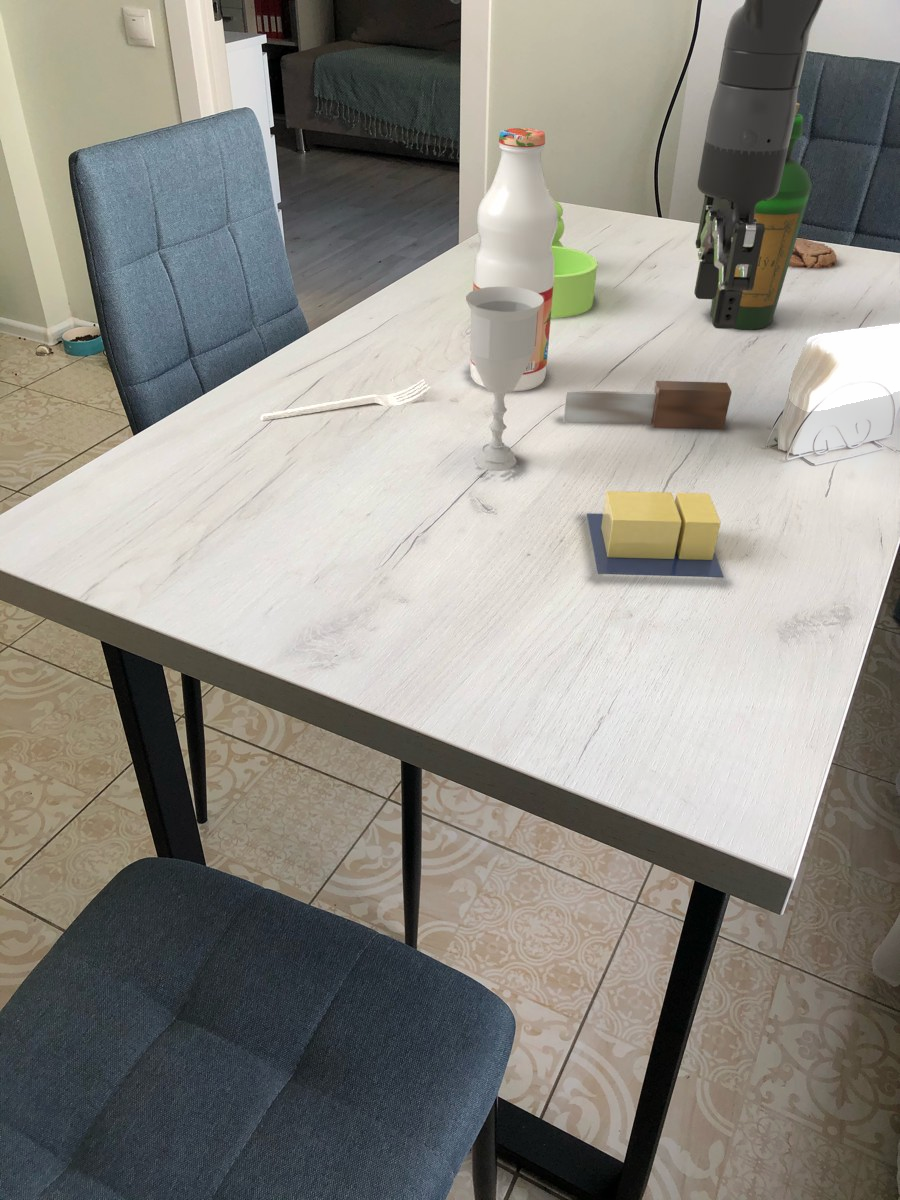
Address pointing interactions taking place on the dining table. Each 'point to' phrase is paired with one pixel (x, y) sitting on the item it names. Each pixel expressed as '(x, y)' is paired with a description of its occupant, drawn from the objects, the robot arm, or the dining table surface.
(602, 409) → the knife
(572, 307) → the food container
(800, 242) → the cookie
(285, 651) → the dining table surface
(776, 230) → the bottle
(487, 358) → the chalice
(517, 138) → the fruit juice
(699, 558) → the butter slice
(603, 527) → the butter dish
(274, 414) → the fork
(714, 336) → the dining table surface
